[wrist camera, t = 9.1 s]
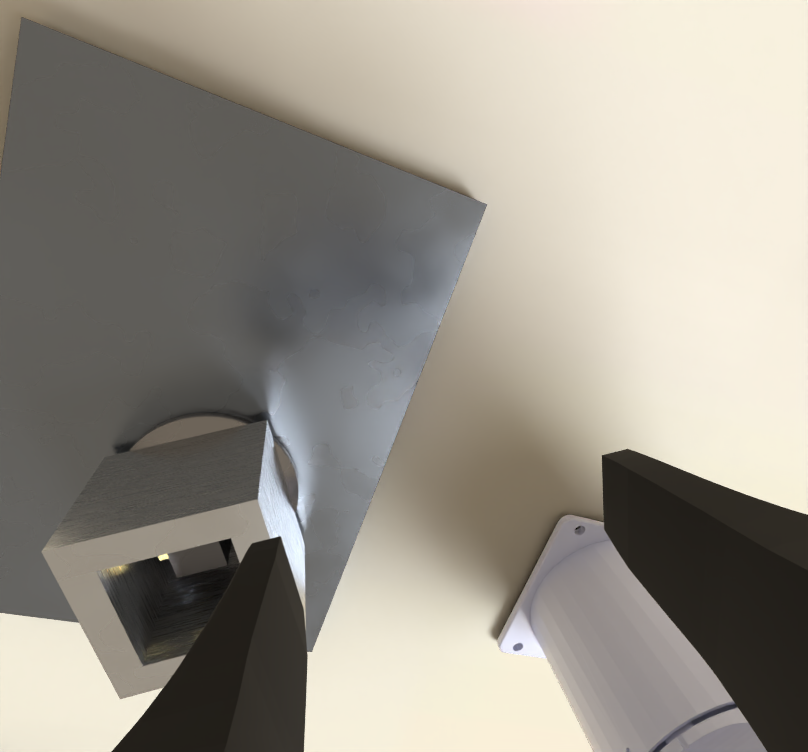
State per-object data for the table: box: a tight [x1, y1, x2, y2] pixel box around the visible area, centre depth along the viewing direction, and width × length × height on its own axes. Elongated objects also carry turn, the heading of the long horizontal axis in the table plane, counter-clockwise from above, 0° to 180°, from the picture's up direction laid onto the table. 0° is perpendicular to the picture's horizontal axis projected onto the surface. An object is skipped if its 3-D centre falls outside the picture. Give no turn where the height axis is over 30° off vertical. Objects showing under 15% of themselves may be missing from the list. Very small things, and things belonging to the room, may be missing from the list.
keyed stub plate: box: [0, 17, 487, 652], centre depth 18 cm, size 14×20×4 cm
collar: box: [42, 420, 306, 699], centre depth 18 cm, size 6×6×5 cm
